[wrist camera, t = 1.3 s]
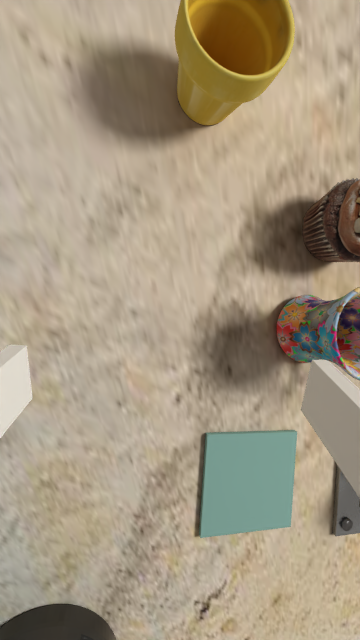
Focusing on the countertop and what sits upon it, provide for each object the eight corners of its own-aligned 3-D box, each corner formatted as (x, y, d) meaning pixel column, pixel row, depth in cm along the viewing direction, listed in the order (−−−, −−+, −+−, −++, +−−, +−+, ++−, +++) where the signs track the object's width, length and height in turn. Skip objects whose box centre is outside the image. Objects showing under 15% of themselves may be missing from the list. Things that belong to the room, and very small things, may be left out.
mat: (287, 523, 38) (290, 526, 37) (198, 534, 35) (200, 537, 34) (294, 430, 38) (297, 431, 37) (205, 432, 35) (207, 434, 34)
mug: (256, 318, 36) (316, 319, 26) (311, 278, 38) (387, 265, 28) (302, 395, 38) (375, 425, 28) (352, 354, 40) (437, 367, 30)
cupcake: (356, 270, 40) (436, 256, 30) (294, 265, 38) (359, 248, 28) (358, 199, 40) (439, 162, 30) (295, 190, 38) (362, 146, 28)
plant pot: (217, 161, 35) (259, 104, 25) (143, 101, 33) (159, 13, 23) (259, 95, 36) (315, 16, 27) (190, 32, 34) (224, -78, 24)
